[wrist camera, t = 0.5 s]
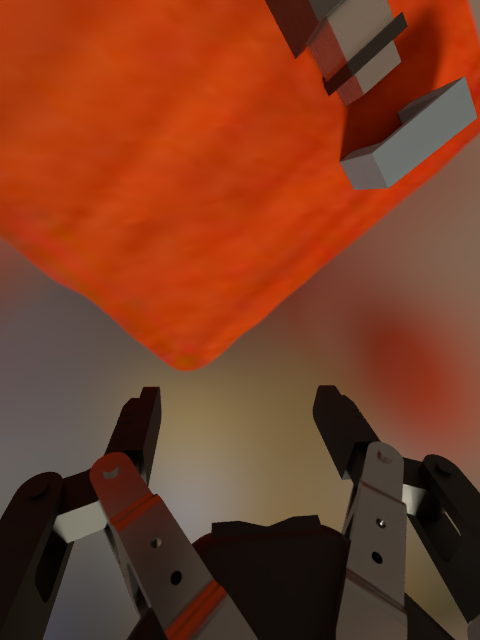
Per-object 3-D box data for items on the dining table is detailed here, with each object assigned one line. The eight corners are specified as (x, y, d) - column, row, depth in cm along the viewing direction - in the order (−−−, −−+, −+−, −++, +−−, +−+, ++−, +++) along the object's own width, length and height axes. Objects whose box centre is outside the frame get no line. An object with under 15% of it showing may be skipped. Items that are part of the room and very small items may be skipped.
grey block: (339, 162, 34) (371, 153, 27) (411, 101, 32) (464, 76, 25) (354, 189, 35) (388, 188, 29) (423, 133, 34) (477, 117, 27)
